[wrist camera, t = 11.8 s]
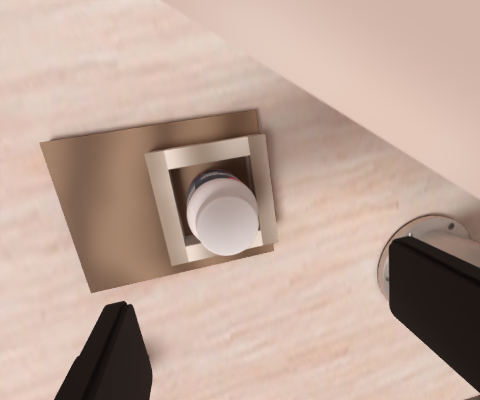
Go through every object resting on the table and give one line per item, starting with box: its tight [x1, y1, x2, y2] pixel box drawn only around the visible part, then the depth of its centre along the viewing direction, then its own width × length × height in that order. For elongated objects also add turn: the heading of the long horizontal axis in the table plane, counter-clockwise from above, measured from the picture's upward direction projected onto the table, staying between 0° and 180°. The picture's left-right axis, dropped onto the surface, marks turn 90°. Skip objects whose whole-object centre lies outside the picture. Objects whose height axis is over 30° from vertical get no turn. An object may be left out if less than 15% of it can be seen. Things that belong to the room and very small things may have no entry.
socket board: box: [40, 110, 278, 293], centre depth 24 cm, size 18×14×4 cm
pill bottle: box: [187, 169, 259, 256], centre depth 21 cm, size 5×5×9 cm
